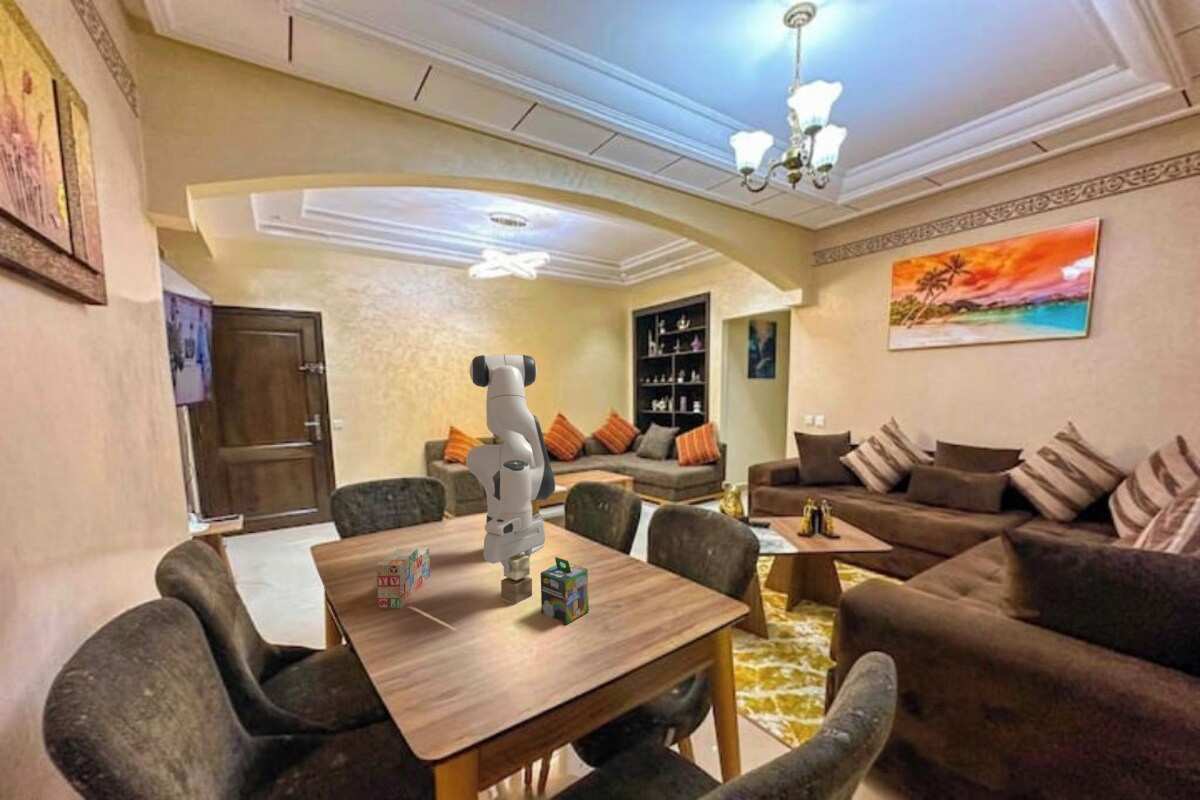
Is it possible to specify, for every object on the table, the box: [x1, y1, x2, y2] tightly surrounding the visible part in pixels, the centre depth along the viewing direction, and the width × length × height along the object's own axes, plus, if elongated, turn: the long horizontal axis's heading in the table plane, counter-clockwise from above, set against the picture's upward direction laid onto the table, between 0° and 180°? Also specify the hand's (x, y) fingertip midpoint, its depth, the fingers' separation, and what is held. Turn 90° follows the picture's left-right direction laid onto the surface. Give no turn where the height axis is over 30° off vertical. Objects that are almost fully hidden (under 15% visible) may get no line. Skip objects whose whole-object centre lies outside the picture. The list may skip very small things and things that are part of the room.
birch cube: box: [503, 554, 531, 580], centre depth 127 cm, size 5×5×5 cm
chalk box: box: [540, 556, 590, 626], centre depth 119 cm, size 9×9×15 cm
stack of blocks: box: [376, 546, 431, 609], centre depth 133 cm, size 21×6×12 cm, turn 0°
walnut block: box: [500, 575, 533, 605], centre depth 127 cm, size 6×6×5 cm
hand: (516, 568), depth 127 cm, fingers closed on birch cube, 5 cm apart
